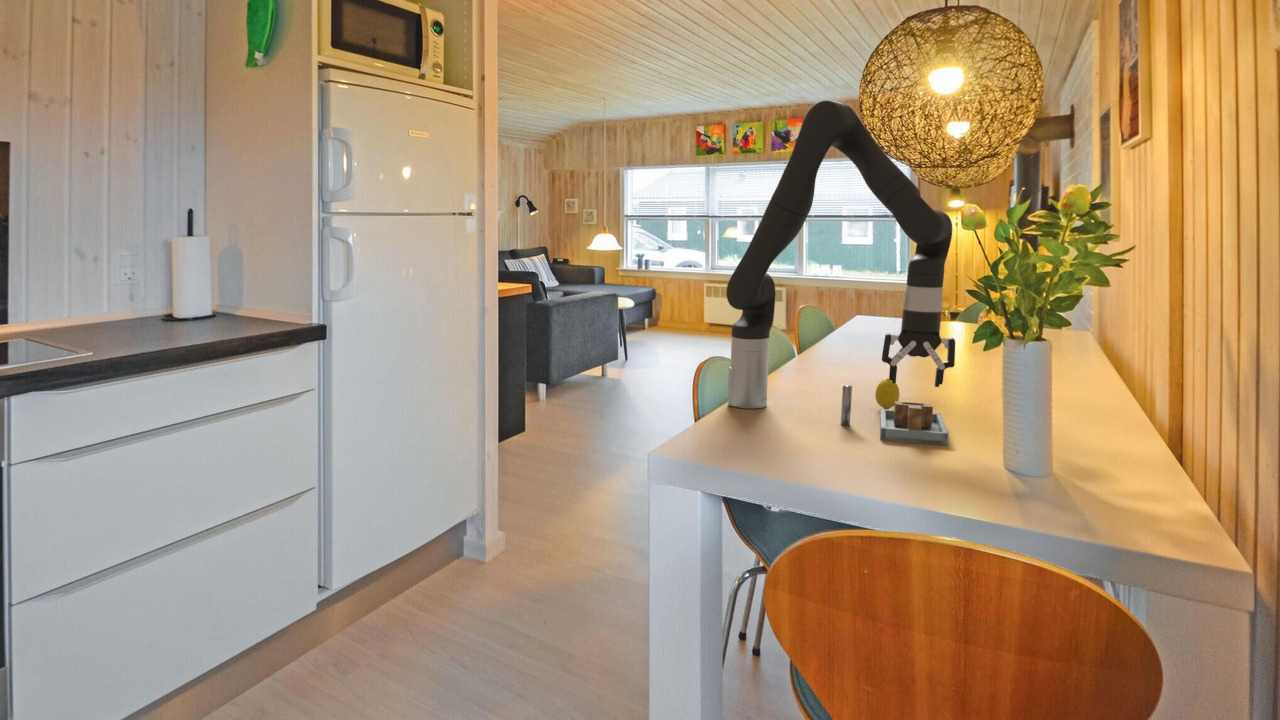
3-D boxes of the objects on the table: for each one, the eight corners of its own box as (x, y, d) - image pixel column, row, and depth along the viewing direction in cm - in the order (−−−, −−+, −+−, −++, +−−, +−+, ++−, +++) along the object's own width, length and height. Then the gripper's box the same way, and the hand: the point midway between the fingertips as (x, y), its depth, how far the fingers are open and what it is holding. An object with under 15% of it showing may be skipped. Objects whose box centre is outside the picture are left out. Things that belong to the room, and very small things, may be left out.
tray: (880, 439, 155) (881, 428, 154) (879, 419, 172) (880, 408, 171) (947, 445, 151) (948, 433, 151) (939, 424, 168) (940, 413, 168)
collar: (895, 428, 155) (896, 406, 154) (893, 420, 167) (894, 401, 167) (933, 431, 152) (935, 409, 152) (928, 423, 165) (930, 403, 165)
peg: (840, 425, 166) (842, 386, 164) (840, 423, 168) (843, 384, 166) (849, 426, 165) (852, 387, 164) (850, 424, 167) (852, 385, 166)
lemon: (895, 408, 183) (897, 376, 182) (900, 413, 178) (902, 380, 176) (872, 407, 184) (874, 375, 182) (877, 412, 178) (879, 380, 177)
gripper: (886, 308, 152) (879, 385, 155) (961, 312, 147) (953, 391, 150) (886, 304, 159) (879, 378, 162) (957, 308, 154) (949, 384, 157)
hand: (915, 384), depth 156 cm, fingers open, 8 cm apart
